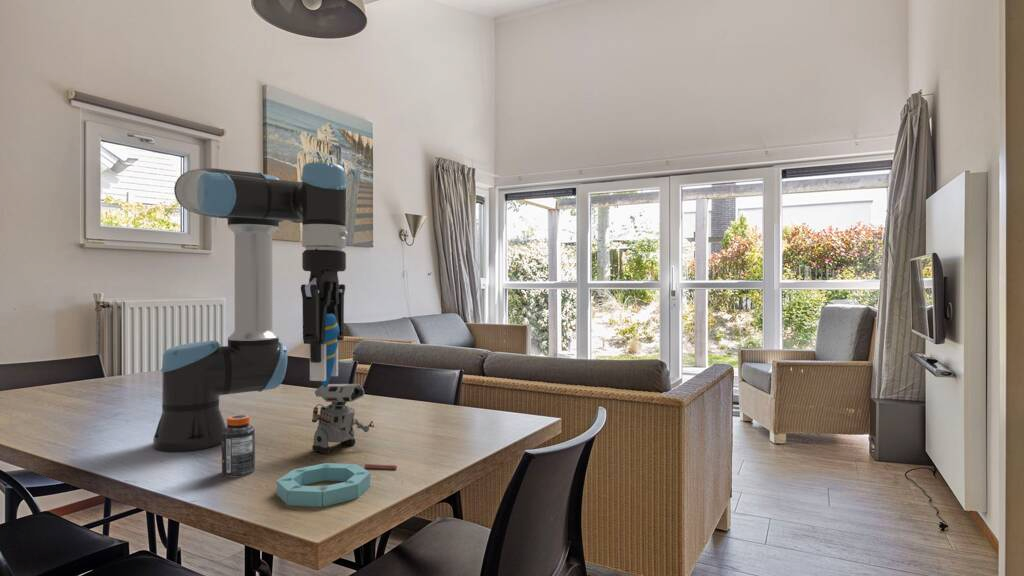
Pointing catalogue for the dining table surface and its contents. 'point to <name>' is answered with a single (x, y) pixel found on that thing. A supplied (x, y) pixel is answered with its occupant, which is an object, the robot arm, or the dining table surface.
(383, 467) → the reddish pink rod
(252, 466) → the pill bottle
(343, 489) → the teal octagonal ring
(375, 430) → the dining table surface
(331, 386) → the figurine
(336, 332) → the ornament
